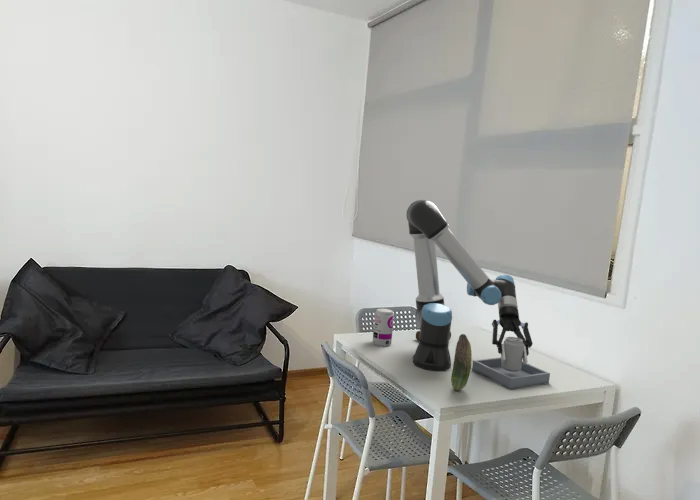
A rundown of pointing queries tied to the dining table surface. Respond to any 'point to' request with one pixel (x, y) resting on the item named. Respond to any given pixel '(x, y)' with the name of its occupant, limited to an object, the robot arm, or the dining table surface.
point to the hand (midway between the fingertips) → (514, 361)
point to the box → (510, 374)
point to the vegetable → (461, 363)
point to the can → (513, 354)
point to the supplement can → (383, 327)
